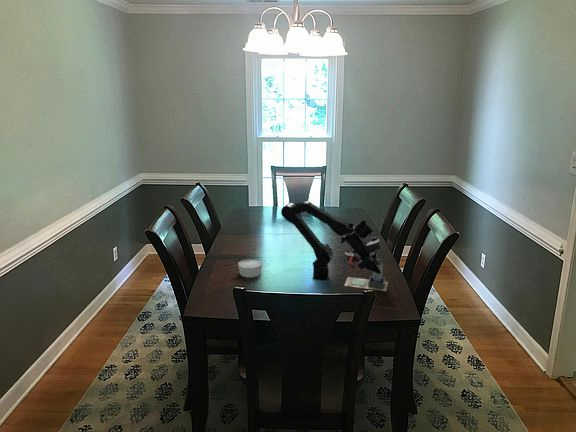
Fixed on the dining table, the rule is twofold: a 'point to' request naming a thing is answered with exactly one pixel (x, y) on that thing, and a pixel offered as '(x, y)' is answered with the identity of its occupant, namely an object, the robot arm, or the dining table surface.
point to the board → (350, 279)
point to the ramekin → (250, 268)
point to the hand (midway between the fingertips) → (380, 271)
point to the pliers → (352, 256)
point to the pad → (358, 282)
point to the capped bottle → (377, 276)
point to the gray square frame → (376, 283)
